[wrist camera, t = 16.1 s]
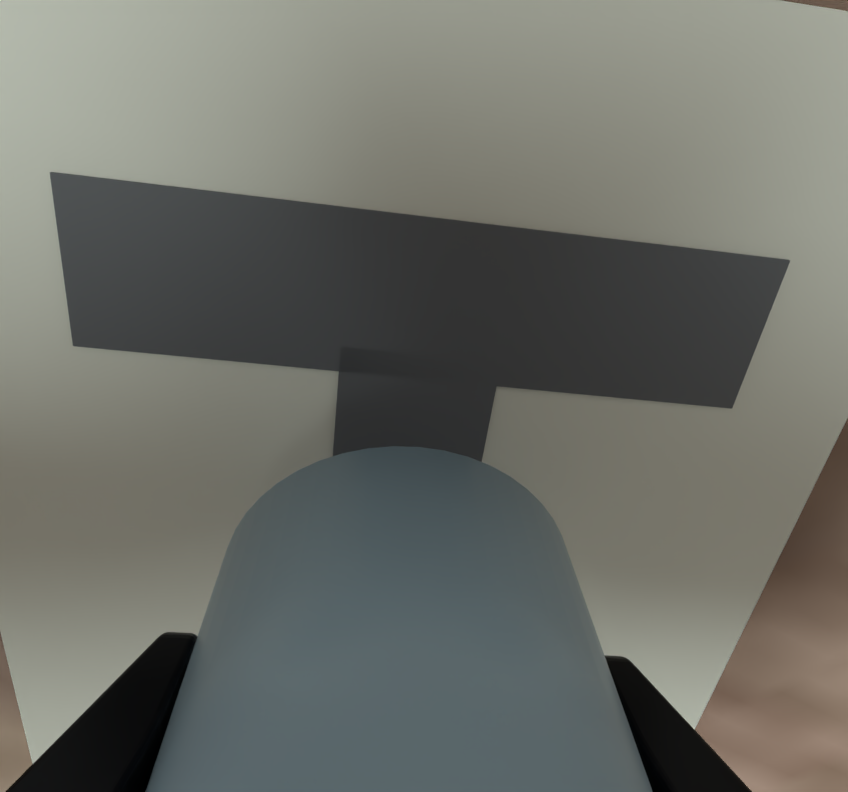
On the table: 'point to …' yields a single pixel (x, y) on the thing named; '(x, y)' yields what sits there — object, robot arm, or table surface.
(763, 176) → the letter board
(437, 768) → the blue cylinder
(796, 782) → the table surface
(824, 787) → the table surface
